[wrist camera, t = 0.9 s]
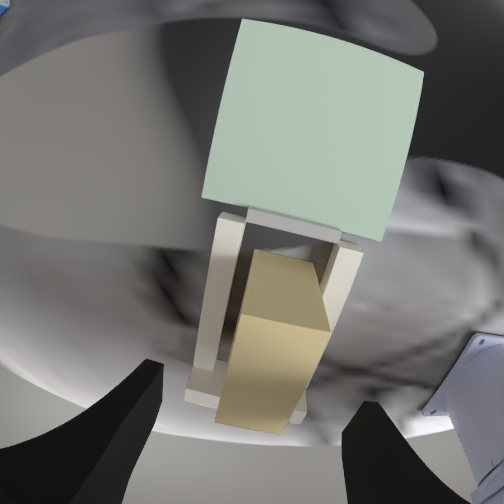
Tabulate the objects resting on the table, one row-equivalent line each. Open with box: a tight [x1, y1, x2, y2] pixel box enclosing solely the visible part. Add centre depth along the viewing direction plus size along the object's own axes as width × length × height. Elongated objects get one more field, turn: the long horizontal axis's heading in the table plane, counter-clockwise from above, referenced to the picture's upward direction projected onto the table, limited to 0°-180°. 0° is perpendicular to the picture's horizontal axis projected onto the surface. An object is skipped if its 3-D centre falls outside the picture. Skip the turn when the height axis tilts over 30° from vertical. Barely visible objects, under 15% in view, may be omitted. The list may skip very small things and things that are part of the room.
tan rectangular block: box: [215, 249, 331, 434], centre depth 13 cm, size 3×6×6 cm, turn 167°
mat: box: [202, 19, 424, 242], centre depth 13 cm, size 9×9×1 cm
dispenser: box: [184, 206, 363, 424], centre depth 15 cm, size 7×11×3 cm, turn 168°
